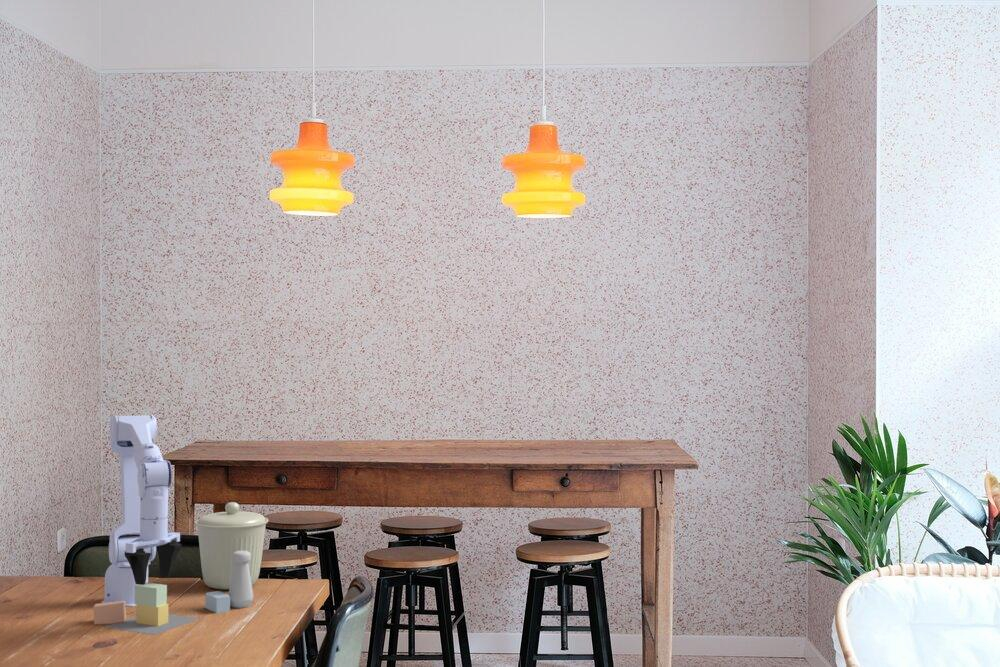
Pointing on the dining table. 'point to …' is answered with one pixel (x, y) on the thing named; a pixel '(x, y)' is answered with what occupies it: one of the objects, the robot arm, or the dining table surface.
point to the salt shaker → (241, 581)
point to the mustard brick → (152, 614)
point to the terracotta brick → (109, 612)
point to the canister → (229, 543)
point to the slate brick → (217, 602)
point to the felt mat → (151, 629)
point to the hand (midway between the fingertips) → (152, 580)
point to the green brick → (151, 594)
